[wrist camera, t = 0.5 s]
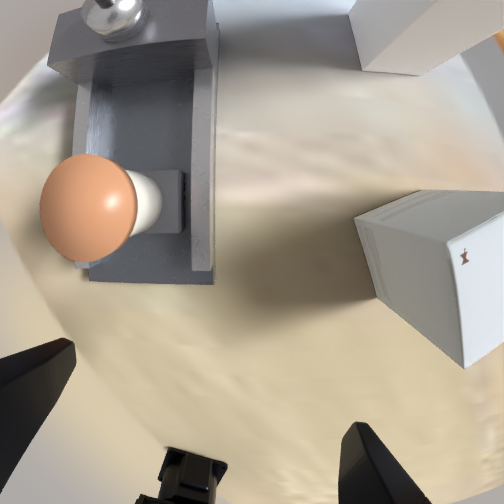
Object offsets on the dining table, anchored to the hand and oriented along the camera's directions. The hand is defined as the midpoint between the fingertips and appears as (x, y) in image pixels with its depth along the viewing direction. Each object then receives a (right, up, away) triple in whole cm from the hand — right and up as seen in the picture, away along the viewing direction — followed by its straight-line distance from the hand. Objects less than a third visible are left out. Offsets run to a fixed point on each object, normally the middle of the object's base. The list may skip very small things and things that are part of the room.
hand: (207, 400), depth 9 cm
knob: (-6, +8, +13) cm, 16 cm away
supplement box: (+14, +5, +16) cm, 22 cm away
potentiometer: (-6, +18, +5) cm, 19 cm away
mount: (-6, +12, +14) cm, 20 cm away
